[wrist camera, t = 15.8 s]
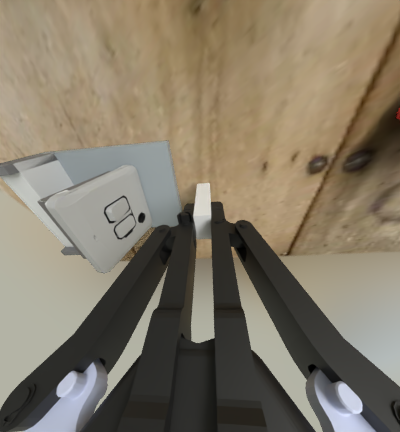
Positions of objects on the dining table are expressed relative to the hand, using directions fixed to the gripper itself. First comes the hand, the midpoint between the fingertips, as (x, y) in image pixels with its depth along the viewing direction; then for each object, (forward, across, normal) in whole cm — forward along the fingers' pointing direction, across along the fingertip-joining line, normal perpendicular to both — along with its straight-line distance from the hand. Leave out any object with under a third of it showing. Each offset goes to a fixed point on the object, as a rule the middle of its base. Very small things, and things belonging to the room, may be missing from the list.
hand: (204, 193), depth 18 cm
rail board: (+3, -12, 0) cm, 12 cm away
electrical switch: (+2, -11, -1) cm, 11 cm away
